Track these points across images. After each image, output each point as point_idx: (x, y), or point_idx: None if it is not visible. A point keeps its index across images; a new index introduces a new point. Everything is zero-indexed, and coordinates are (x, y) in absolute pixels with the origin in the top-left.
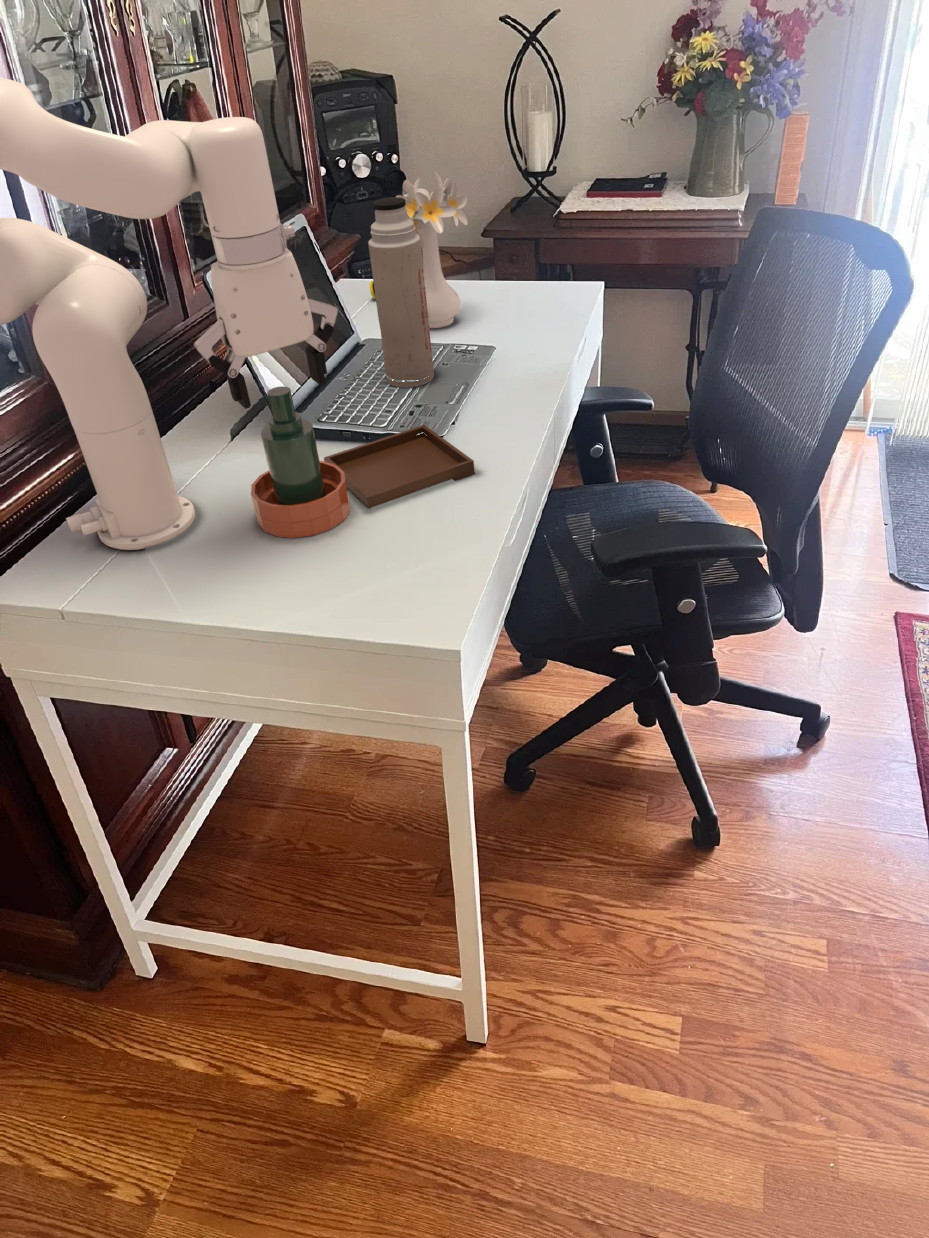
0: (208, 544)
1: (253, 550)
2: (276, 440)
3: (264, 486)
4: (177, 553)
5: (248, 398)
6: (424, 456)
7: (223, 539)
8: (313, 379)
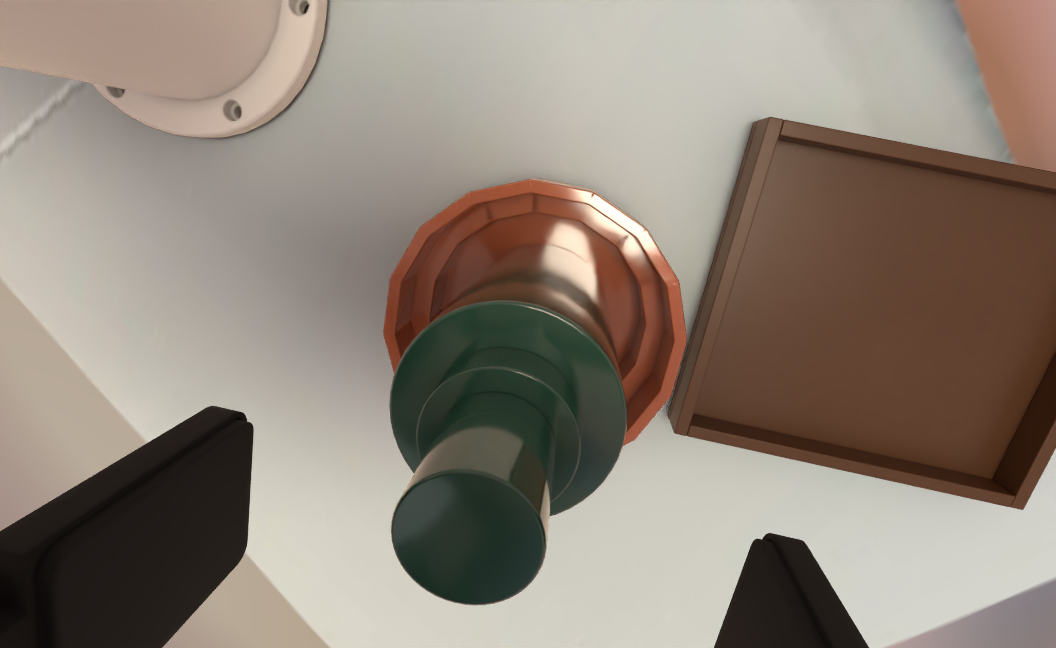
0: (291, 227)
1: (364, 340)
2: (416, 468)
3: (479, 204)
4: (215, 203)
5: (205, 592)
6: (997, 321)
7: (330, 236)
8: (744, 574)
